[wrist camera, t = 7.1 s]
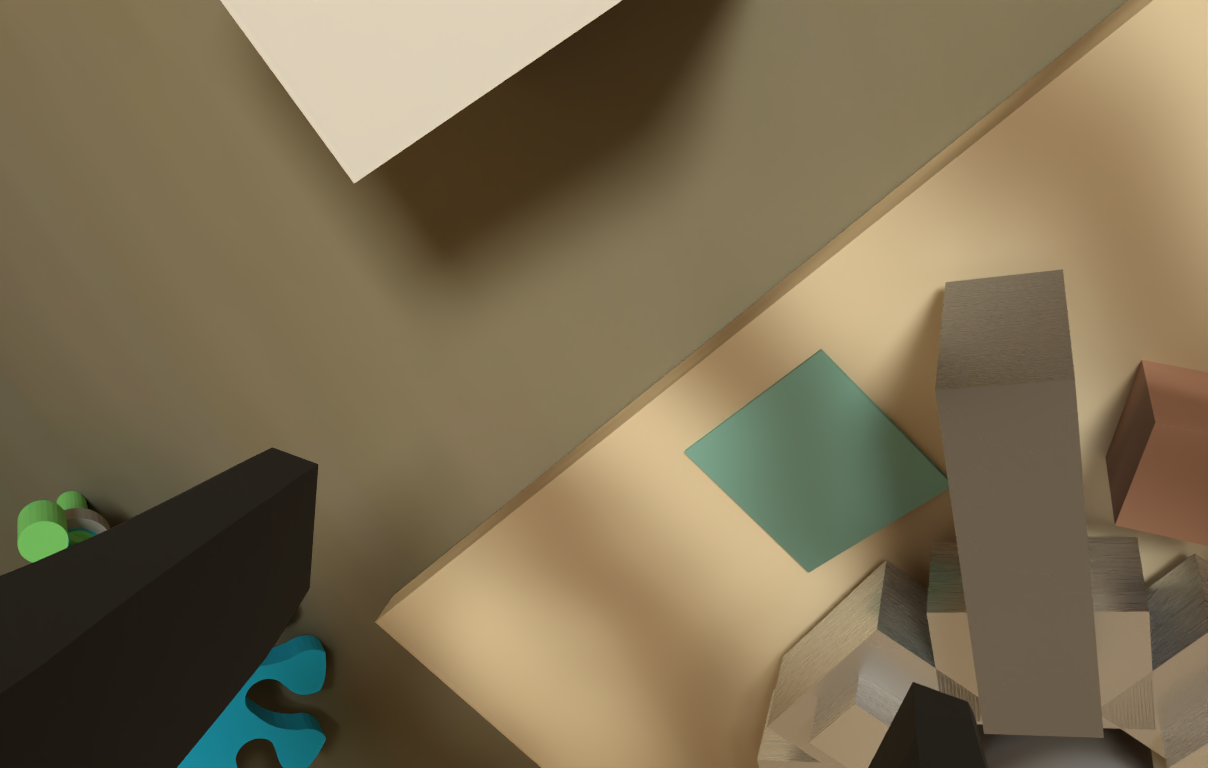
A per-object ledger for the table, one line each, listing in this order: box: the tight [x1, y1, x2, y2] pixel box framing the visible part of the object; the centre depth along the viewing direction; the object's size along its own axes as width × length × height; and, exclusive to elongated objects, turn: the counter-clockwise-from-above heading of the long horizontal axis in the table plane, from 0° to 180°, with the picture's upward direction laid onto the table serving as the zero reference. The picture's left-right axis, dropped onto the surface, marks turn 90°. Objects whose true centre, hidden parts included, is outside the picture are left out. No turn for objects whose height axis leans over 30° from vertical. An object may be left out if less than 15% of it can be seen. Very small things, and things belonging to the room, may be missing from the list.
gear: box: [18, 491, 326, 768], centre depth 30 cm, size 11×6×10 cm
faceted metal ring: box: [757, 269, 1208, 768], centre depth 20 cm, size 16×11×4 cm
